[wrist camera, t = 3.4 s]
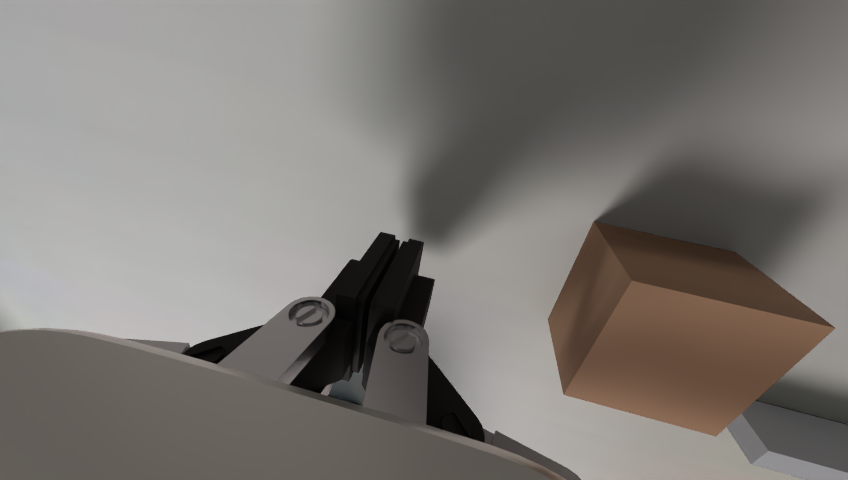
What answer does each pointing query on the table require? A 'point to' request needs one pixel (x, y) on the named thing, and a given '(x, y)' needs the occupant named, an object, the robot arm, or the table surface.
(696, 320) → the walnut block
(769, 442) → the walled lane
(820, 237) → the table surface
